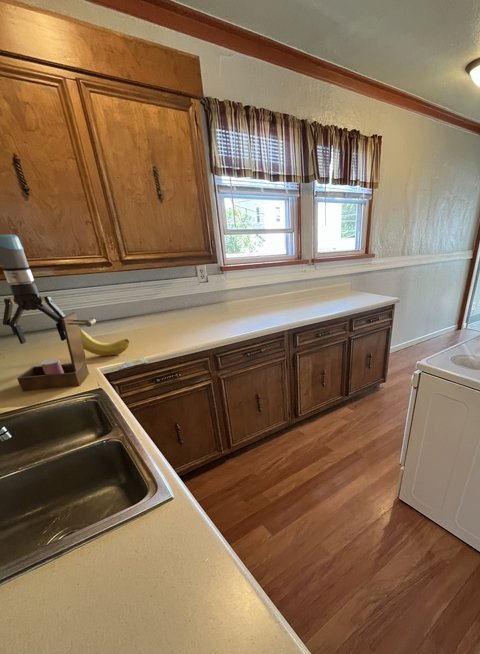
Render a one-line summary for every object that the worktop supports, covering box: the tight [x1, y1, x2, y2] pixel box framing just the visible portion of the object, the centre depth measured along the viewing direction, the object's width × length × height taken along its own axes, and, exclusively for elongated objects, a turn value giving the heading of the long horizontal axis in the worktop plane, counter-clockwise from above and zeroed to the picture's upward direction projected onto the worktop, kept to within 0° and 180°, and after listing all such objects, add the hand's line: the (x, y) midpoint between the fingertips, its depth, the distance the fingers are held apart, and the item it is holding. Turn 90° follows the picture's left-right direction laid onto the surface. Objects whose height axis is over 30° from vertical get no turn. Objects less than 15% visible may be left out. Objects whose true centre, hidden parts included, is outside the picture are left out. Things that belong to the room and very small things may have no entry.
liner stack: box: [40, 358, 64, 375], centre depth 130 cm, size 6×6×9 cm
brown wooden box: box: [16, 361, 90, 392], centre depth 131 cm, size 20×13×6 cm, turn 105°
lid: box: [61, 311, 97, 372], centre depth 128 cm, size 20×13×8 cm
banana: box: [79, 326, 130, 357], centre depth 160 cm, size 23×6×20 cm, turn 111°
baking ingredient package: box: [119, 357, 149, 370], centre depth 152 cm, size 9×1×15 cm
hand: (43, 341), depth 125 cm, fingers open, 13 cm apart
